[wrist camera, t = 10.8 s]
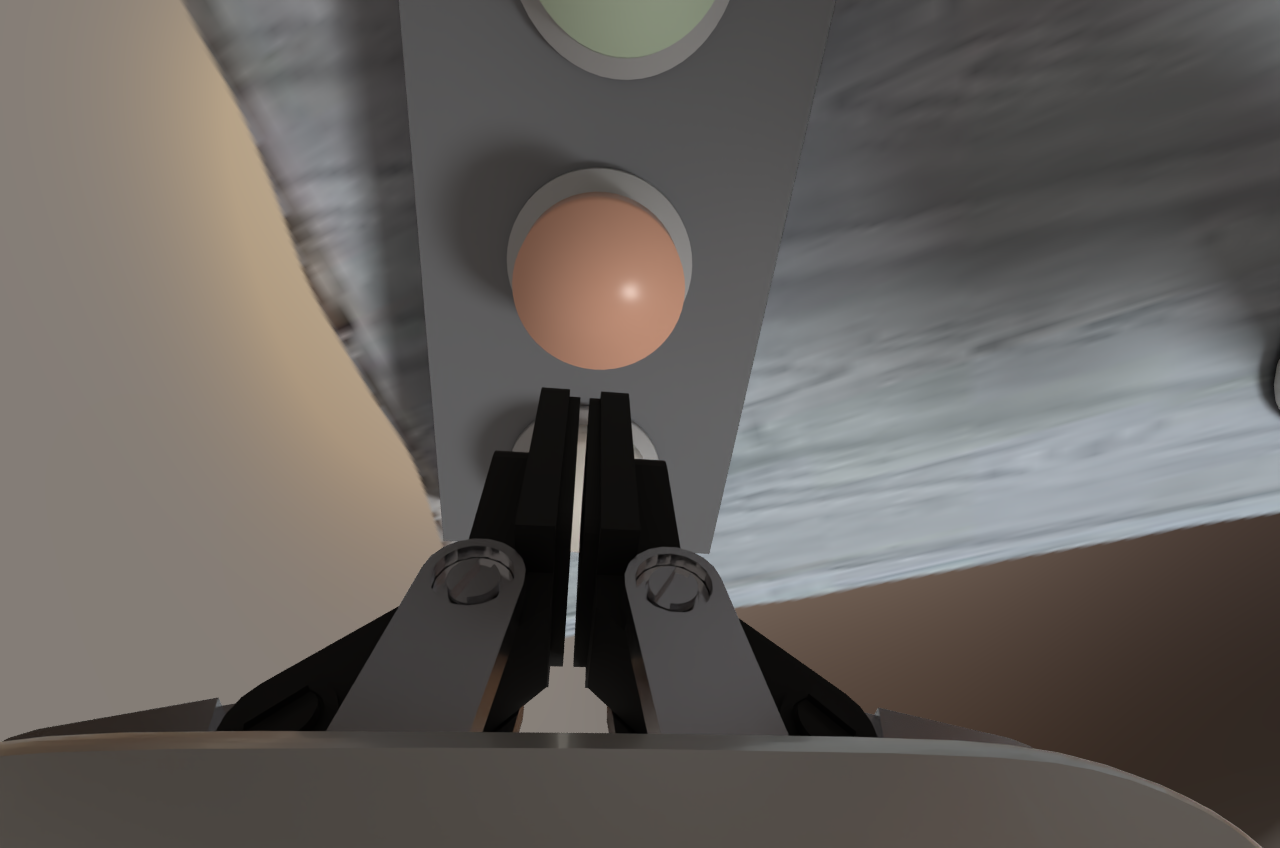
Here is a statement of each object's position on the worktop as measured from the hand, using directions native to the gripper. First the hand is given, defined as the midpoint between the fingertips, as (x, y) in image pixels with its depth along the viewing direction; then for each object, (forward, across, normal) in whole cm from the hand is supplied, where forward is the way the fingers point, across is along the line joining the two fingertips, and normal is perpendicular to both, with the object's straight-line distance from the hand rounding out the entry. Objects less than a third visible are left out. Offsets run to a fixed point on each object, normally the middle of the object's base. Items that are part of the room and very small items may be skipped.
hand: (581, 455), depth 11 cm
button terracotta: (+13, 0, 0) cm, 13 cm away
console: (+16, 0, 0) cm, 17 cm away
